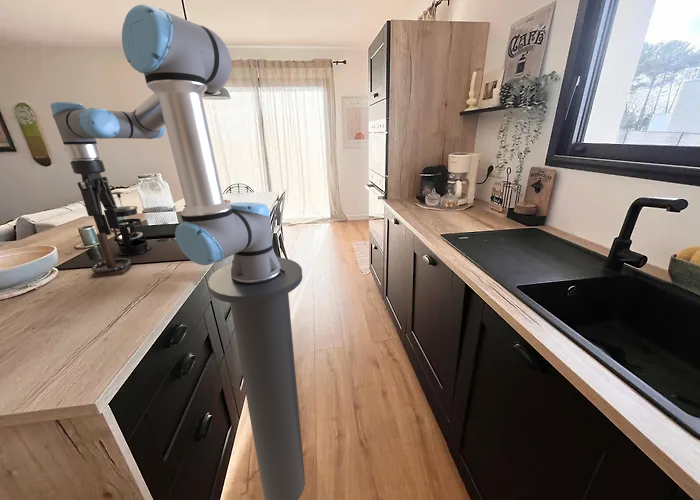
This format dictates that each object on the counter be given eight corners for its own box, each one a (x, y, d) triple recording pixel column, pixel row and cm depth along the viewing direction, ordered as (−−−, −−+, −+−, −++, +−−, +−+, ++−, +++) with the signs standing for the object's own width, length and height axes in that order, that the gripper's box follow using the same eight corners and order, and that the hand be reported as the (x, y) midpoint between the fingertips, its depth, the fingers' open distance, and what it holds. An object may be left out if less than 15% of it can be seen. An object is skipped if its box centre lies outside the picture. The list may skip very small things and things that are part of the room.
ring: (135, 259, 102) (134, 255, 101) (126, 270, 93) (125, 267, 92) (100, 263, 98) (98, 260, 98) (86, 275, 89) (85, 272, 89)
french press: (124, 248, 115) (106, 190, 106) (152, 245, 118) (137, 189, 110) (115, 258, 104) (94, 195, 96) (145, 255, 108) (128, 194, 100)
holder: (131, 264, 100) (120, 228, 95) (123, 273, 93) (110, 235, 88) (103, 267, 97) (91, 231, 93) (92, 277, 90) (78, 238, 86)
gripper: (86, 157, 95) (109, 224, 103) (51, 162, 77) (81, 242, 86) (113, 157, 97) (133, 222, 105) (85, 161, 79) (111, 239, 88)
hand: (110, 231), depth 96 cm, fingers open, 7 cm apart
